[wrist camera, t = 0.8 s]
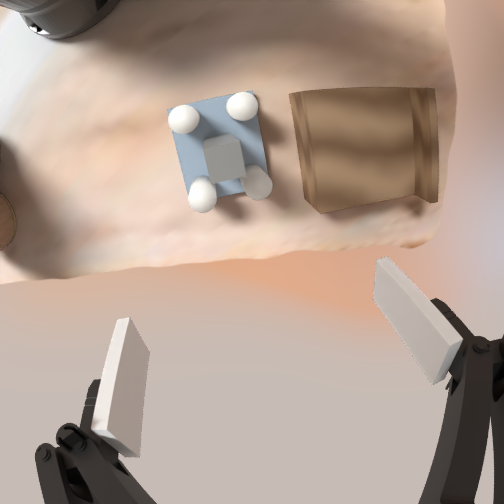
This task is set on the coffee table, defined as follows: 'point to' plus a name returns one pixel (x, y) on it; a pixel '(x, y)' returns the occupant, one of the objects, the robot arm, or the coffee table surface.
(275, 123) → the coffee table surface
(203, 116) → the pegged blue plate
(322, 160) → the wooden u channel
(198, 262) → the coffee table surface
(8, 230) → the binoculars
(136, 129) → the coffee table surface
